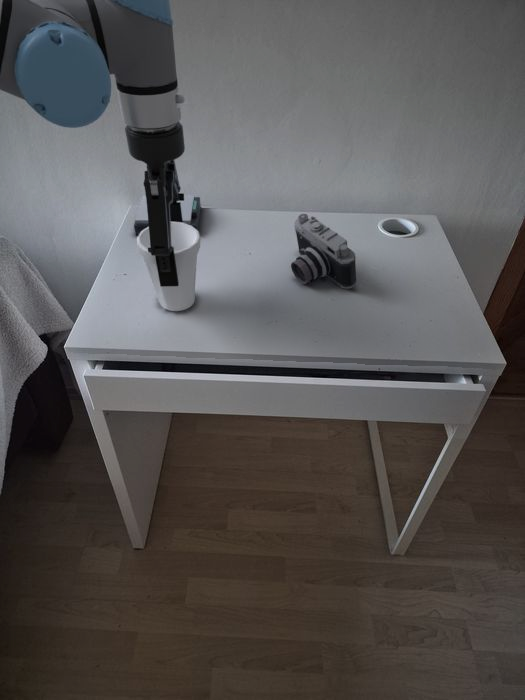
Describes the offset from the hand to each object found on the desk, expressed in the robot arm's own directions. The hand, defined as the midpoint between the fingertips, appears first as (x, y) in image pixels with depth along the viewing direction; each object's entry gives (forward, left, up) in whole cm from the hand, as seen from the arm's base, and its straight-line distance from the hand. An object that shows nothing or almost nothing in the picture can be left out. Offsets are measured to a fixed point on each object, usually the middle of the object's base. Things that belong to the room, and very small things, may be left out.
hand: (173, 260), depth 73 cm
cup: (0, 0, -9) cm, 9 cm away
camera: (+26, -6, -9) cm, 28 cm away
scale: (+11, +27, -9) cm, 30 cm away
